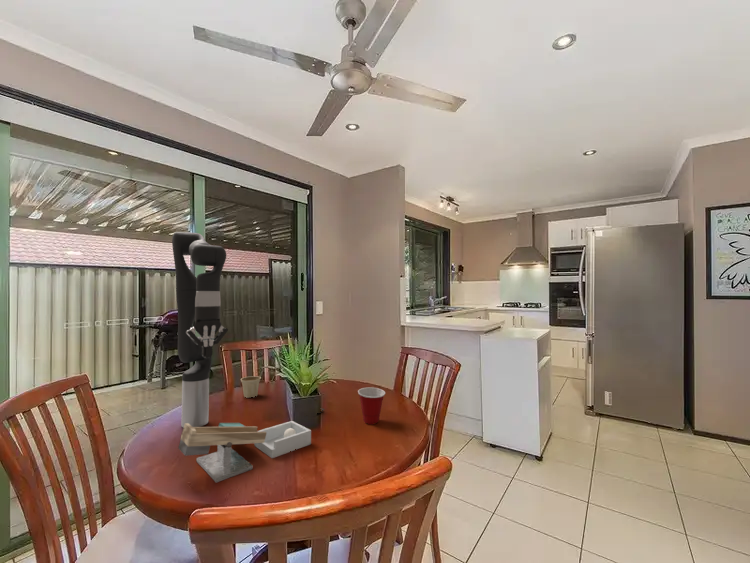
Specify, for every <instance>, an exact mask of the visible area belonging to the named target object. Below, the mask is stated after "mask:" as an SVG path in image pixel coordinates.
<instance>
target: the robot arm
mask: <svg viewBox="0 0 750 563" xmlns="http://www.w3.org/2000/svg"><path fill="white" fill-rule="evenodd" d="M171 244H172V246H171V247H172V253H173V259H174V260H173V262H174V269H175V292H176V294H175V296H176V297H175V298H176V305H177V324H178V325H177V327H178V328H177V355H178V359H179V360H180V362H181V363H183V364H187V363H192V362H195V363H194V364H193V366H191V367H190V368H189V369H187V370H185V371H184V372H182V376H181V377H182V379H181V380H182V382H181V416H180V417H181V419H180V420H181V421H180V423H181V424H180V426H181V428H182V429H183V428H184V424H185V423H189V424H190V425H191V426H192V427H204V426H205V425H207V424H208V423H209V413H210V411H209V409H210V407H209V406H210V403H209V402H210V373H211V370H212V357H213V346H214V345H218V344H219V343H220V341H222V339H223V337H225V335H226V334H227V332H228V331H229V329H228V328H226V327H224V326H223V325H222V322H221V305H222V301H221V292H220V291H221V277H222V272H223V268H224V265H225V263H226V260H227V252H226V249H225V248H224V247H223V246H221V245H213V244H210V243H208V242H207V241H206V239H205V237H204V236H203V235H202V234H201V233H198V232H187V231H174V232H173V234H172V237H171ZM185 256H190V259H191V262H192V264H194V265H196V266H202V267H213V268H212V269H211V271H209V272H203V273H198V274H197V276H196V275H195V274H194V273H193V272H192V271H191V270H190V267H189V266H188V265H187V262H186V260H185ZM217 332H218V333H217ZM196 333H197V334H198V335H199V336H197V335H196ZM215 335H216V336H215Z"/></svg>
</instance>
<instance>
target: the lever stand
mask: <svg viewBox="0 0 750 563" xmlns="http://www.w3.org/2000/svg"><path fill="white" fill-rule="evenodd" d="M196 463H197V464H198V465H199V466H200V467H201V468H202V469H203V470H204V472H206V473H207V474H208V476H209V477H210V478H211V479H212V480H213V481H214V483H215V484H216V483H219V482H221V481H225V480H226V479H230V478H232V477H235V476H238V475H240V474H243V473H247V472H248V471H251V470H253V464H252V463H250V462H249V461H248V460H246V459H245V458H244V457H243V456H242V455H241V454H239V453H238V451H236V450H234V449H233V448H232V446H231V447H230V448H228V447H227V446H226V445H217V451H214V452H211V453H208V454H204V455H201V456H198V457H196Z"/></svg>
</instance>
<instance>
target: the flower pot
mask: <svg viewBox="0 0 750 563" xmlns="http://www.w3.org/2000/svg"><path fill="white" fill-rule="evenodd" d="M261 379H262V377H261V376H257V375H256V376H255V375H253V376H252V375H250V376H245V377H242V378H240V381H241V384H242V392H243V397H244V398H245V397H246V398H247V399H249V398H251V397H253V398H256V397H257V396H258V395H259V393H258V392H259V386H260V382H261ZM255 396H256V397H255Z"/></svg>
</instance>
